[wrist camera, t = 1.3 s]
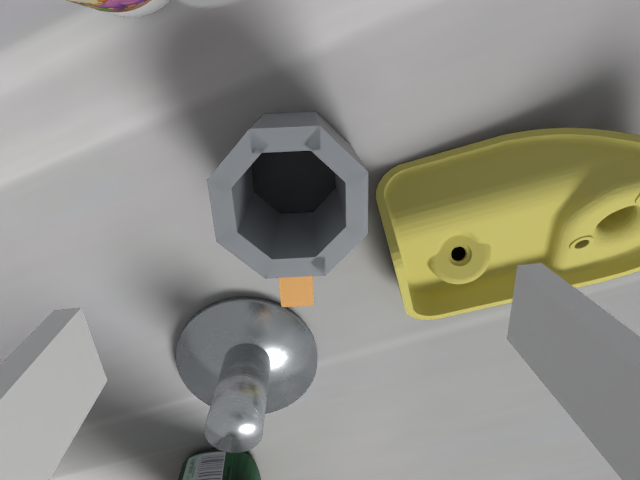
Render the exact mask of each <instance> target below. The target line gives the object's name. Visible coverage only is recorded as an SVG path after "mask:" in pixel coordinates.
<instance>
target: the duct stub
mask: <svg viewBox="0 0 640 480" xmlns="http://www.w3.org/2000/svg"><path fill="white" fill-rule="evenodd" d="M176 363H177V368H178V371H179V374H180V376H181V378H182V380H183V382H184V383H185V385H186V386H187V388H188V389H189V390H190V391H191V392H192V393H193V394H194V395H195V396H196V397H197V398H199V399H200V400H201V401H203V402H204V403H206V404H208V405H210V410H209V413H208V417H207V420H206V424H205V428H204V434H205V437H206V439H207V441H208V442H209V443H210V444H211V445H212V446H213V447H215V448H217V449H219V450H221V451H224V452H229V453H240V452H245V451H248V450H250V449H252V448H254V447H255V446H256V445H257V444H258V443H259V442H260V440H261V438H262V434H263V426H264V417H265V414H266V413H271V412H274V411H277V410H280V409H282V408H284V407H287V406H288V405H290V404H292V403H293V402H295V401H296V400H297V399H299V398H300V397H301V396H302V395H303V394H304V393H305V392H306V390H307V389H308V388H309V386H310V385H311V383H312V381H313V379H314V376H315V373H316V369H317V349H316V344H315V340H314V337H313V335H312V333H311V331H310V330H309V328H308V327H307V325H306V324H305V323H304V322H303V320H302V319H301V318H300V317H299V316H297V315H296V314H295V313H294V312H292V311H291V310H289V309H288V308H286V307H281V305H280V304H278V303H275V302H273V301H270V300H266V299H262V298H255V297H236V298H229V299H225V300H221V301H218V302H215V303H213V304H211V305H209V306H207V307H205V308H204V309H202V310H201V311H199V312H198V313H197V314H196V315H195V316H193V317H192V318H191V320H190V321H189V322H188V323H187V325H186V327H185V328H184V330H183V332H182V334H181V336H180V339H179V342H178V344H177V350H176Z"/></svg>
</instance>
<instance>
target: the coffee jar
mask: <svg viewBox="0 0 640 480" xmlns="http://www.w3.org/2000/svg"><path fill="white" fill-rule="evenodd" d="M178 480H261V478H260V474H259V471H258V468H257V465H256V463H255V461H254V459H253V458H252V457H251V456H250V455H248V454H246V453H243V452H240V453H229V452H224V451H221V450H219V449H210V450H206V451H203V452H200V453H197V454H194V455H192V456H191V457H189V458H188V459H187V460H186V461H185V462H184V464H183V466H182V469H181V472H180V475H179V479H178Z"/></svg>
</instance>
